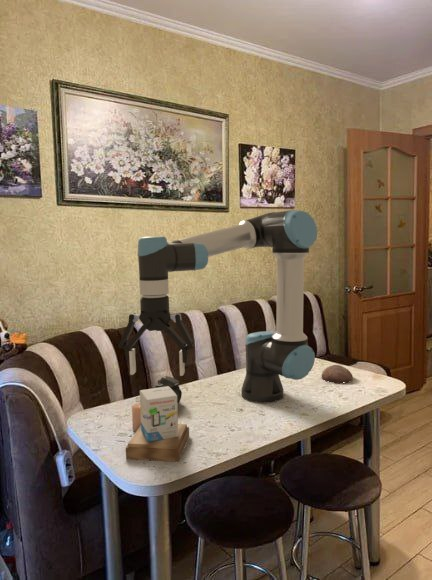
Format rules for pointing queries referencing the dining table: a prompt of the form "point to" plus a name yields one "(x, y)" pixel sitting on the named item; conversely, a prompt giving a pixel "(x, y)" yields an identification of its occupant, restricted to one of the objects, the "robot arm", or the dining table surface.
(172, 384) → the camera
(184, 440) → the stand
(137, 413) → the peach domed cylinder
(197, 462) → the dining table surface
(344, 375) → the decorative stone
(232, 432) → the dining table surface
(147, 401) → the ink box
